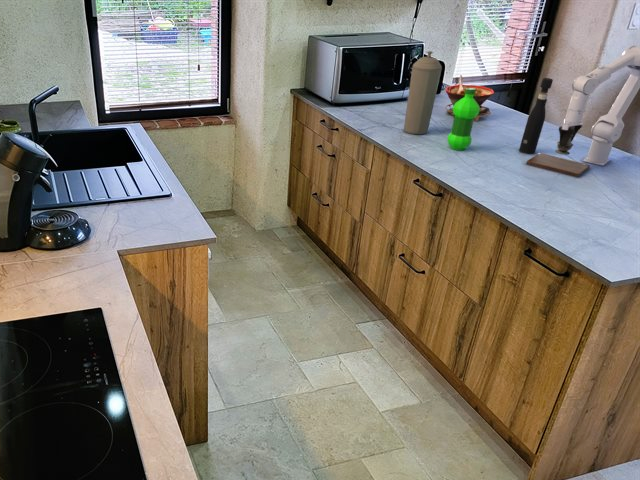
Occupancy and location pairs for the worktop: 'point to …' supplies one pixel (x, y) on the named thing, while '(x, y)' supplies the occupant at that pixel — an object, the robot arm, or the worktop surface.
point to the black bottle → (535, 120)
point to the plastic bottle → (463, 120)
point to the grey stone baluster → (568, 146)
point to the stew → (480, 97)
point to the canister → (422, 94)
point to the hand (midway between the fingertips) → (565, 144)
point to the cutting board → (558, 165)
